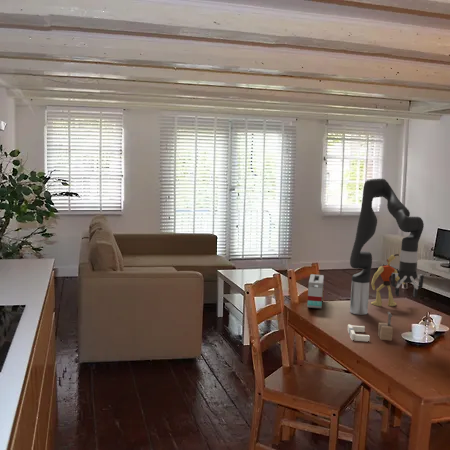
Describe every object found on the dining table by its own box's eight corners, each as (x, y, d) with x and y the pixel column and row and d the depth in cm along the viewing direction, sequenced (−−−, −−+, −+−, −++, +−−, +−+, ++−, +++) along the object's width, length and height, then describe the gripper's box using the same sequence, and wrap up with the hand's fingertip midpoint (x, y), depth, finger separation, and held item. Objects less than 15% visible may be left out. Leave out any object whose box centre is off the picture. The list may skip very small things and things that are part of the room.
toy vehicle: (323, 297, 321) (324, 272, 319) (321, 310, 291) (323, 283, 289) (309, 296, 322) (310, 271, 320) (306, 309, 293) (308, 282, 291)
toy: (403, 302, 316) (407, 251, 312) (410, 306, 307) (414, 254, 304) (366, 302, 312) (369, 251, 308) (372, 306, 303) (376, 254, 300)
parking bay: (347, 330, 257) (347, 323, 257) (364, 331, 257) (364, 324, 256) (351, 340, 243) (352, 333, 242) (369, 341, 242) (369, 334, 242)
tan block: (377, 335, 252) (379, 310, 251) (388, 335, 252) (390, 311, 250) (380, 339, 245) (382, 314, 244) (391, 340, 245) (393, 315, 244)
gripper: (422, 260, 247) (419, 295, 249) (390, 258, 248) (388, 293, 250) (427, 262, 239) (424, 299, 241) (394, 261, 241) (391, 297, 242)
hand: (405, 296), depth 246 cm, fingers open, 7 cm apart
